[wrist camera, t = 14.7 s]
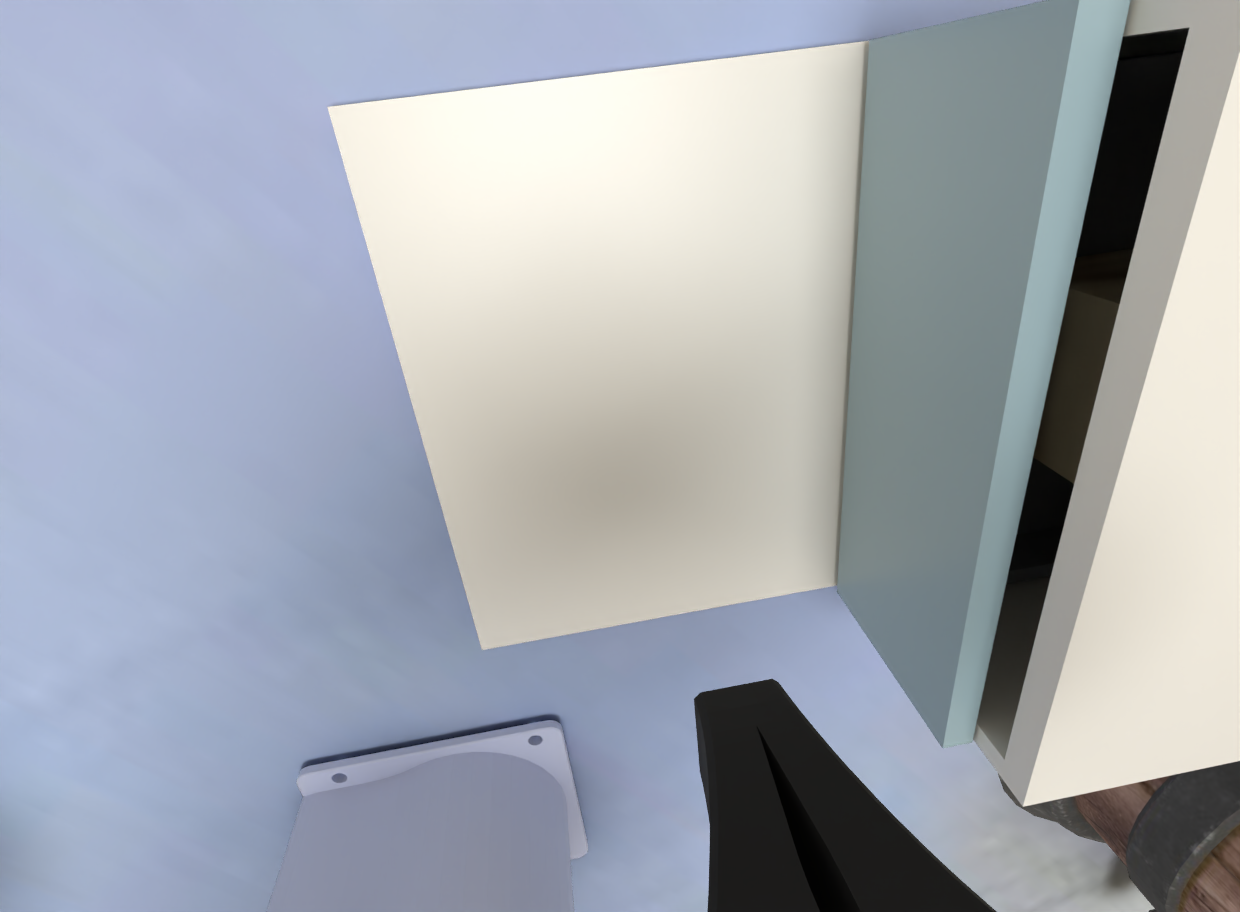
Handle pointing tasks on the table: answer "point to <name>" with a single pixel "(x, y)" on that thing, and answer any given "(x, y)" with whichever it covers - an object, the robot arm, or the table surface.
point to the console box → (797, 378)
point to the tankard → (1166, 835)
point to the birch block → (1080, 358)
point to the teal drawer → (976, 316)
